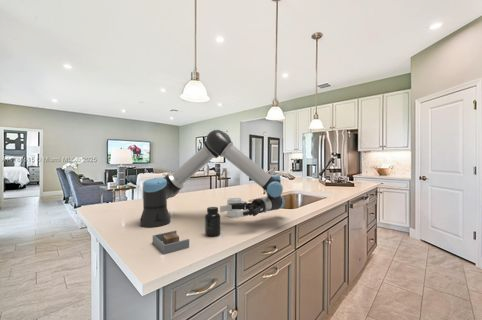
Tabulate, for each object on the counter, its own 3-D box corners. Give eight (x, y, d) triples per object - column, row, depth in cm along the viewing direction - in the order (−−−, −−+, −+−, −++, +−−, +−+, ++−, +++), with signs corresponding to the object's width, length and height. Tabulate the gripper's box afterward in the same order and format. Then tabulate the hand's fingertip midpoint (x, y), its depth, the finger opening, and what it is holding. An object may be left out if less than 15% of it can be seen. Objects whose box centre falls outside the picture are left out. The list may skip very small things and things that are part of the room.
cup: (226, 214, 133) (226, 197, 133) (245, 213, 136) (245, 196, 136) (228, 218, 125) (228, 200, 125) (248, 216, 128) (248, 199, 128)
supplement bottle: (213, 230, 104) (212, 205, 104) (223, 233, 99) (223, 207, 99) (202, 234, 99) (201, 208, 98) (212, 238, 94) (212, 210, 94)
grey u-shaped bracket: (175, 237, 96) (175, 230, 96) (189, 247, 85) (189, 239, 85) (152, 242, 90) (152, 235, 90) (163, 254, 79) (163, 246, 79)
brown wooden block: (175, 241, 92) (174, 233, 92) (179, 245, 88) (179, 236, 87) (162, 244, 89) (162, 235, 89) (166, 248, 85) (166, 239, 85)
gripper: (278, 217, 107) (244, 226, 94) (246, 208, 127) (214, 214, 114) (278, 202, 107) (244, 208, 94) (246, 195, 127) (214, 200, 114)
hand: (228, 211), depth 104 cm, fingers open, 13 cm apart
